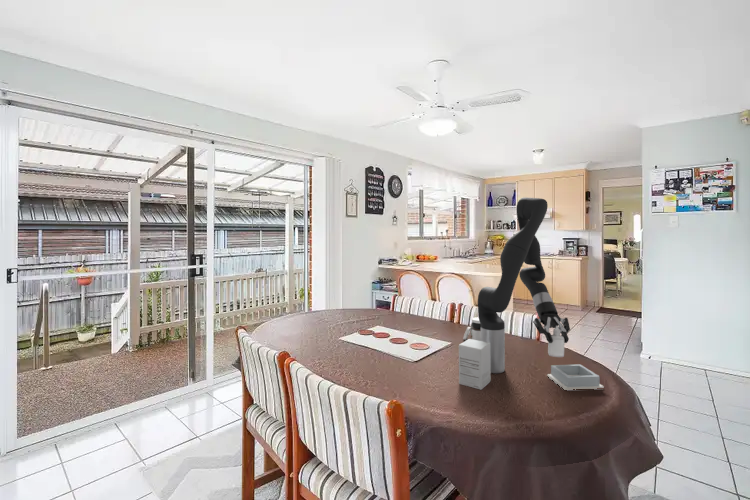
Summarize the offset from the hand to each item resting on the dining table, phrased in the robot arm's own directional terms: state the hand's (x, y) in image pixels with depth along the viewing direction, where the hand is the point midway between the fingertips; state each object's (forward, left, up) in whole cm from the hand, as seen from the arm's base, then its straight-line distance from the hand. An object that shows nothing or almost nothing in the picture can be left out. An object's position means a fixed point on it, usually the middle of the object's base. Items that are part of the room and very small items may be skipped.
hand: (558, 342), depth 145 cm
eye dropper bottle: (0, +2, -6) cm, 7 cm away
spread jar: (-21, +41, -12) cm, 47 cm away
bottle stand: (0, -10, -12) cm, 16 cm away
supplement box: (-36, -7, -12) cm, 38 cm away
